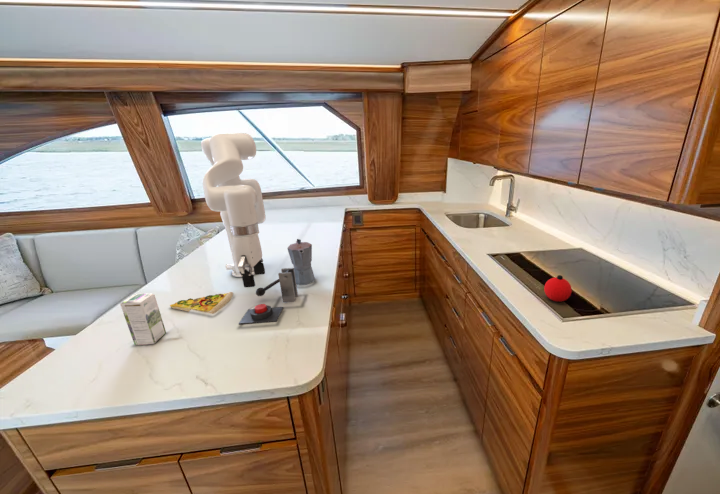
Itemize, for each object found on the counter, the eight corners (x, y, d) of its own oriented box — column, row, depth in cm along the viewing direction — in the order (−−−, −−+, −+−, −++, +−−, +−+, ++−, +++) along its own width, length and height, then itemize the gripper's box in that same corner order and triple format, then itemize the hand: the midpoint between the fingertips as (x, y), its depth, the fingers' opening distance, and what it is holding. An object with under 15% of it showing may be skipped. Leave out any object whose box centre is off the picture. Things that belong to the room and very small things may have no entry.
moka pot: (295, 292, 119) (288, 245, 113) (290, 278, 132) (283, 235, 125) (319, 287, 123) (314, 241, 117) (311, 274, 136) (306, 232, 130)
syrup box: (148, 334, 94) (133, 293, 89) (167, 333, 95) (154, 292, 90) (134, 345, 89) (118, 303, 84) (155, 344, 89) (140, 302, 84)
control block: (239, 328, 97) (237, 318, 96) (249, 313, 105) (247, 304, 104) (277, 325, 98) (275, 315, 97) (284, 310, 106) (282, 302, 105)
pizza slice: (218, 316, 104) (216, 308, 103) (156, 319, 102) (153, 312, 101) (237, 295, 118) (236, 288, 117) (183, 297, 117) (181, 290, 116)
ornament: (571, 308, 106) (576, 282, 102) (543, 303, 109) (547, 279, 105) (567, 296, 114) (572, 272, 110) (541, 292, 116) (545, 269, 113)
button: (253, 314, 99) (252, 309, 98) (257, 308, 102) (256, 304, 101) (265, 313, 99) (264, 308, 98) (268, 307, 102) (267, 303, 102)
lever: (258, 299, 109) (252, 293, 108) (261, 295, 112) (255, 288, 111) (291, 278, 108) (286, 271, 107) (293, 274, 111) (288, 268, 110)
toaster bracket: (274, 308, 108) (268, 276, 104) (280, 296, 116) (275, 266, 112) (302, 306, 109) (297, 275, 105) (306, 295, 117) (302, 265, 113)
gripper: (243, 223, 99) (252, 270, 104) (219, 238, 83) (232, 293, 88) (266, 222, 100) (274, 269, 105) (247, 236, 83) (258, 291, 89)
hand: (255, 280), depth 97 cm, fingers open, 9 cm apart
